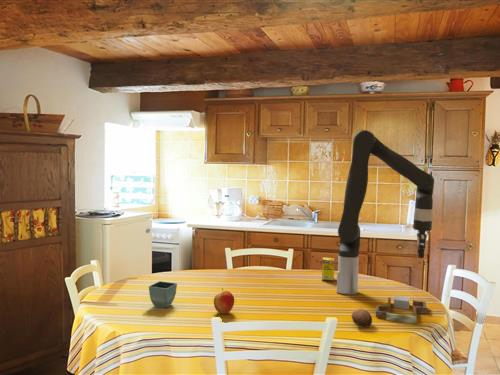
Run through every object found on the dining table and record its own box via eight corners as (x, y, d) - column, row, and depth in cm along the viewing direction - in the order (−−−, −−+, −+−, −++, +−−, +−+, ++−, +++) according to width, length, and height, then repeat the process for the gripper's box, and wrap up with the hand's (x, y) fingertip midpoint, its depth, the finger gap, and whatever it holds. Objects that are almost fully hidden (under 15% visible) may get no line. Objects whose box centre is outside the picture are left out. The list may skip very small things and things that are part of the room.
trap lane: (375, 318, 173) (375, 312, 173) (378, 302, 194) (378, 296, 194) (428, 325, 167) (428, 318, 167) (425, 307, 188) (425, 301, 188)
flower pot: (177, 303, 188) (177, 283, 188) (167, 310, 180) (167, 288, 179) (159, 301, 191) (159, 280, 191) (148, 307, 183) (148, 286, 182)
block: (393, 307, 187) (394, 299, 187) (394, 303, 193) (394, 295, 193) (408, 309, 185) (409, 301, 185) (409, 305, 191) (409, 297, 191)
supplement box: (333, 281, 226) (334, 260, 225) (321, 281, 227) (322, 259, 226) (334, 278, 231) (334, 258, 231) (322, 278, 233) (322, 257, 232)
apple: (226, 318, 172) (226, 292, 172) (209, 314, 177) (209, 289, 176) (238, 312, 179) (238, 287, 178) (221, 308, 183) (221, 284, 183)
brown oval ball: (346, 312, 171) (355, 302, 168) (365, 319, 172) (373, 309, 169) (348, 328, 164) (356, 318, 161) (367, 336, 165) (376, 326, 162)
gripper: (413, 216, 202) (411, 251, 203) (414, 220, 188) (411, 258, 189) (431, 217, 199) (428, 253, 200) (433, 221, 186) (430, 260, 187)
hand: (420, 255), depth 195 cm, fingers open, 8 cm apart
